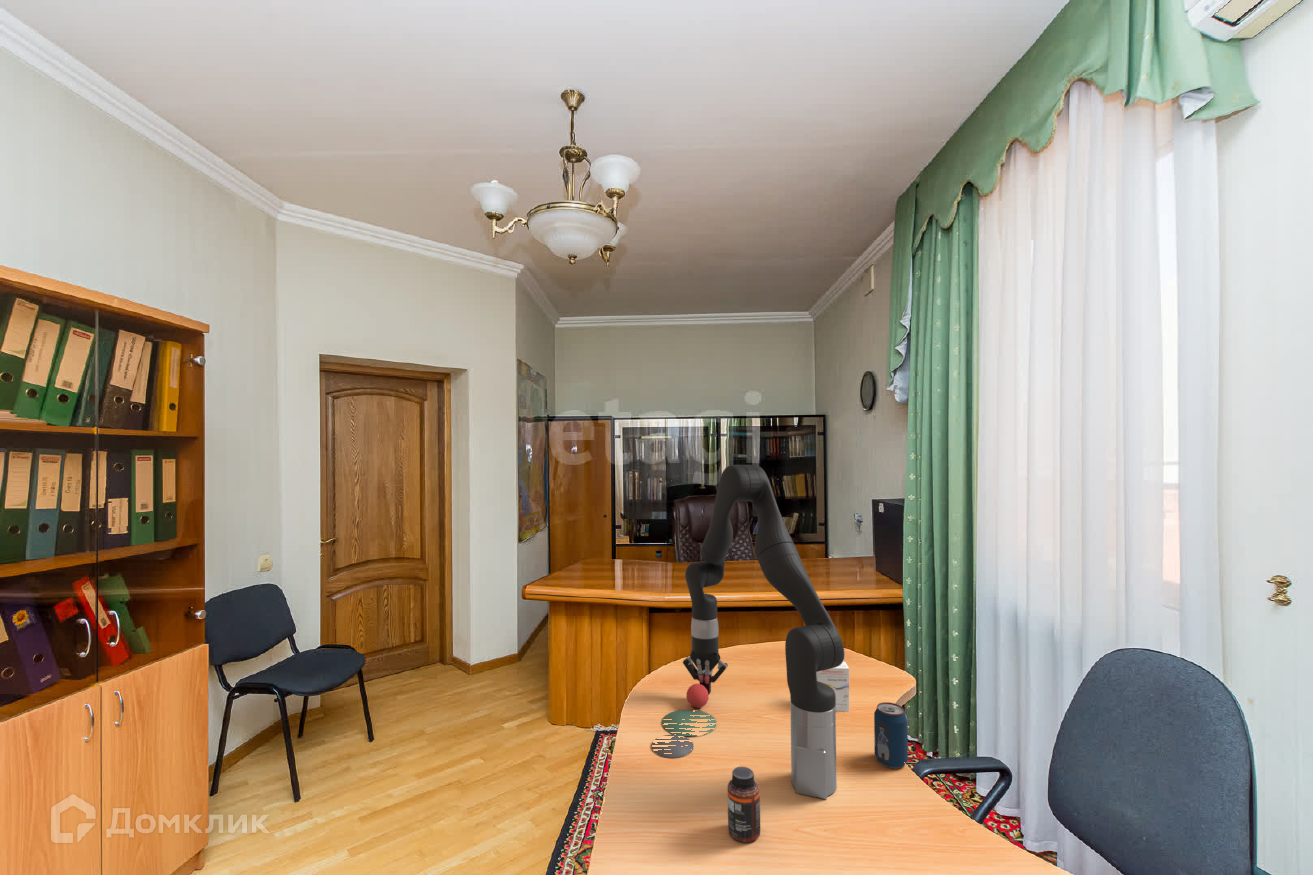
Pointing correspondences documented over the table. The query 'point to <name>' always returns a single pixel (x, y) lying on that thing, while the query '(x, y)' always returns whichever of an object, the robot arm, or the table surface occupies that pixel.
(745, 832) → the supplement bottle
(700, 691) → the ball
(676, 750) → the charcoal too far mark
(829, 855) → the table surface
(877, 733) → the soda can
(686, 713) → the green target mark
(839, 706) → the ink cartridge box
